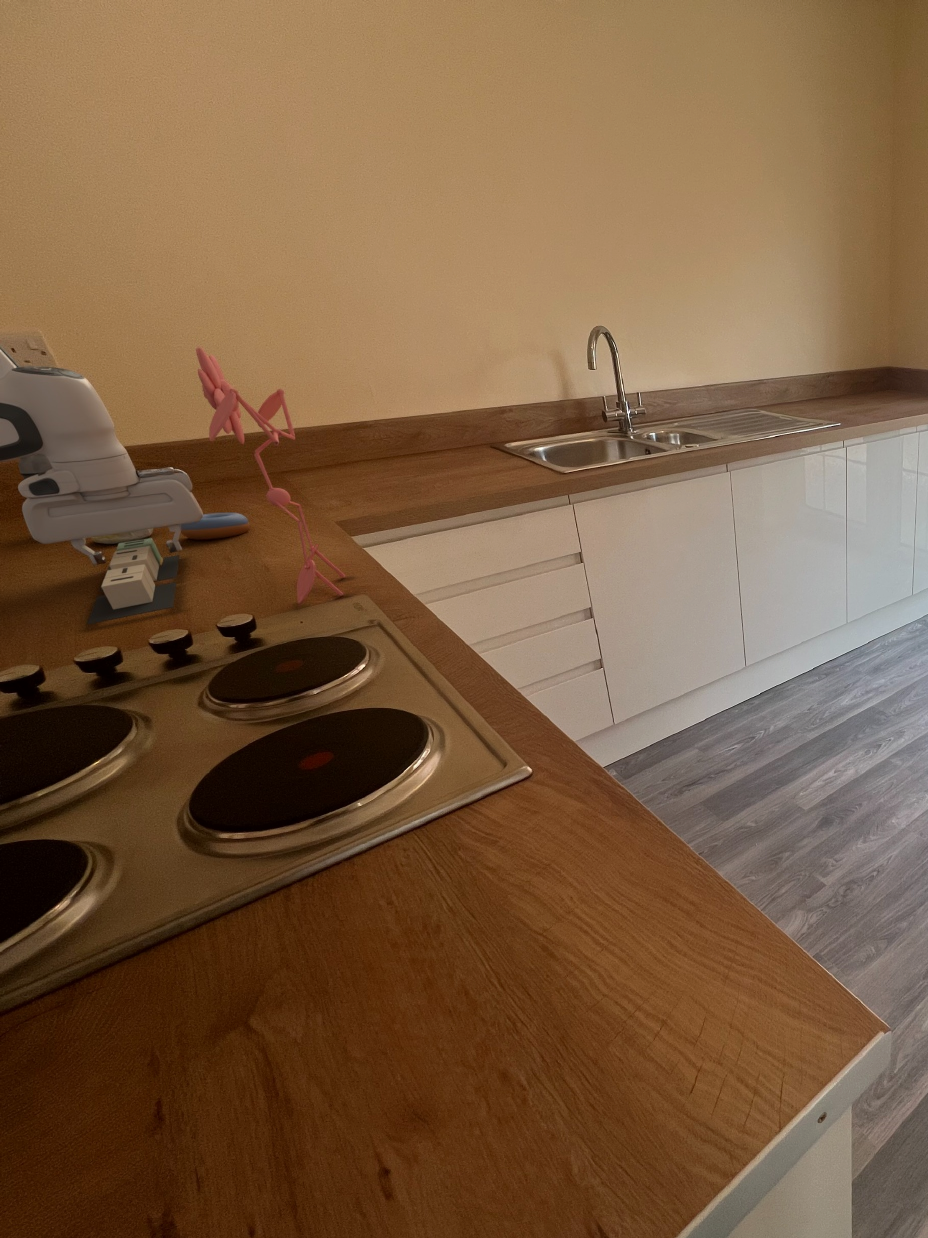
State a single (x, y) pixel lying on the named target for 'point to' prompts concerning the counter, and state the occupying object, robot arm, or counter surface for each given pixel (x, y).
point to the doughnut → (216, 526)
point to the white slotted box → (127, 590)
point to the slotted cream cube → (135, 563)
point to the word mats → (160, 601)
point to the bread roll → (123, 537)
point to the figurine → (258, 450)
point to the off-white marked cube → (138, 551)
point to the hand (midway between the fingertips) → (139, 557)
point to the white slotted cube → (131, 571)
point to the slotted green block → (141, 544)
